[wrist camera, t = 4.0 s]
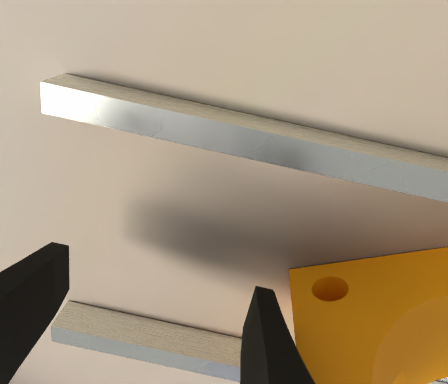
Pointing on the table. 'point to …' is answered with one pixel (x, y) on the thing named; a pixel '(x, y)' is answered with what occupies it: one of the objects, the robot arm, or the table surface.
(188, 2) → the table surface
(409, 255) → the pipe clamp
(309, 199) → the table surface
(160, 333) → the rail
